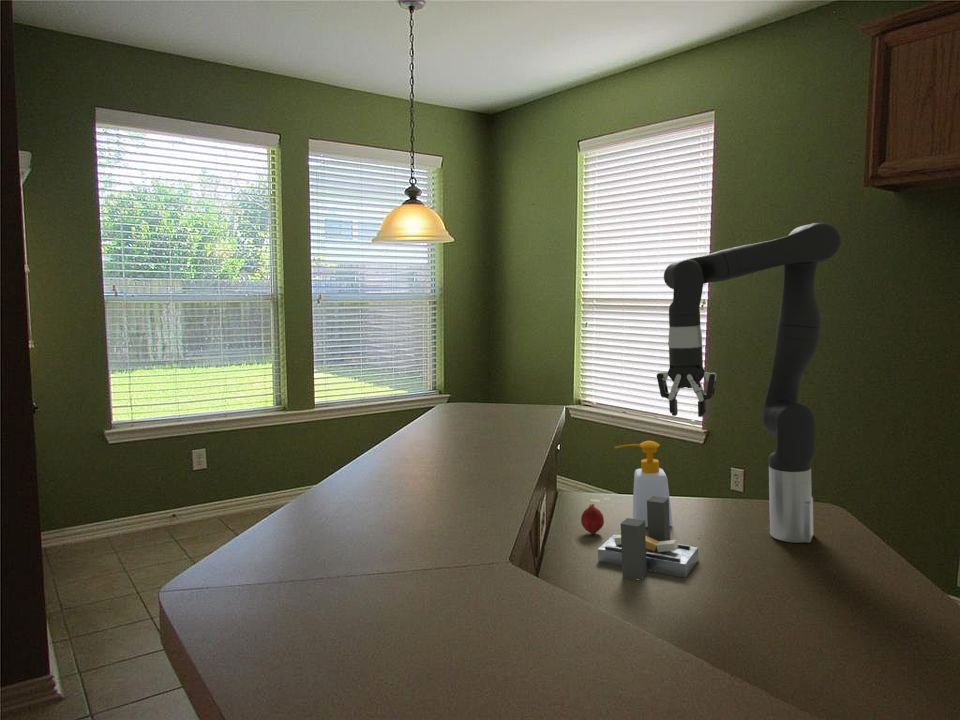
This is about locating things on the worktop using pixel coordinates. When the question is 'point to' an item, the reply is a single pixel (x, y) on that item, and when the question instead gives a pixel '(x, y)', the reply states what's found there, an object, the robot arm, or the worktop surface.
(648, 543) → the orange block
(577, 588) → the worktop surface
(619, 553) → the breaker panel
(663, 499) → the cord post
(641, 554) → the cord post
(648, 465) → the soap bottle
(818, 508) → the worktop surface
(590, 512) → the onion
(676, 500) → the worktop surface
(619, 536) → the paddle
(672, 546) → the paddle
